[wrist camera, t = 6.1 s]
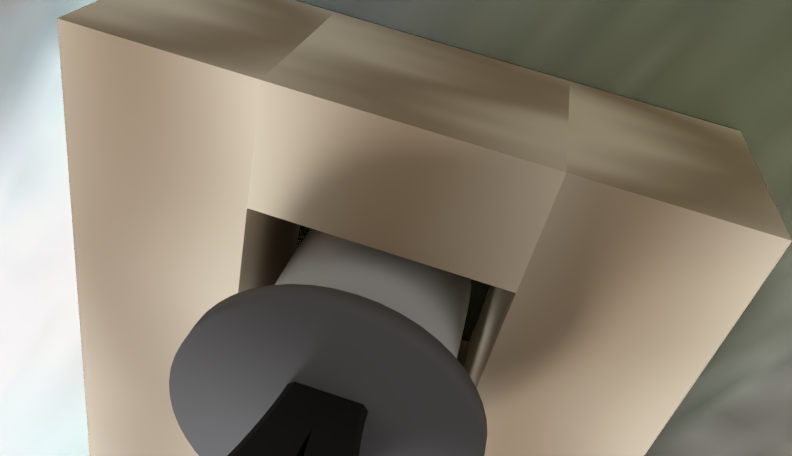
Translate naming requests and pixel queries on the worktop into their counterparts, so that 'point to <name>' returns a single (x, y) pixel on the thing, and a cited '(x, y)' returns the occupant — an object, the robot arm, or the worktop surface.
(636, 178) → the knob mount
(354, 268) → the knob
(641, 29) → the worktop surface
